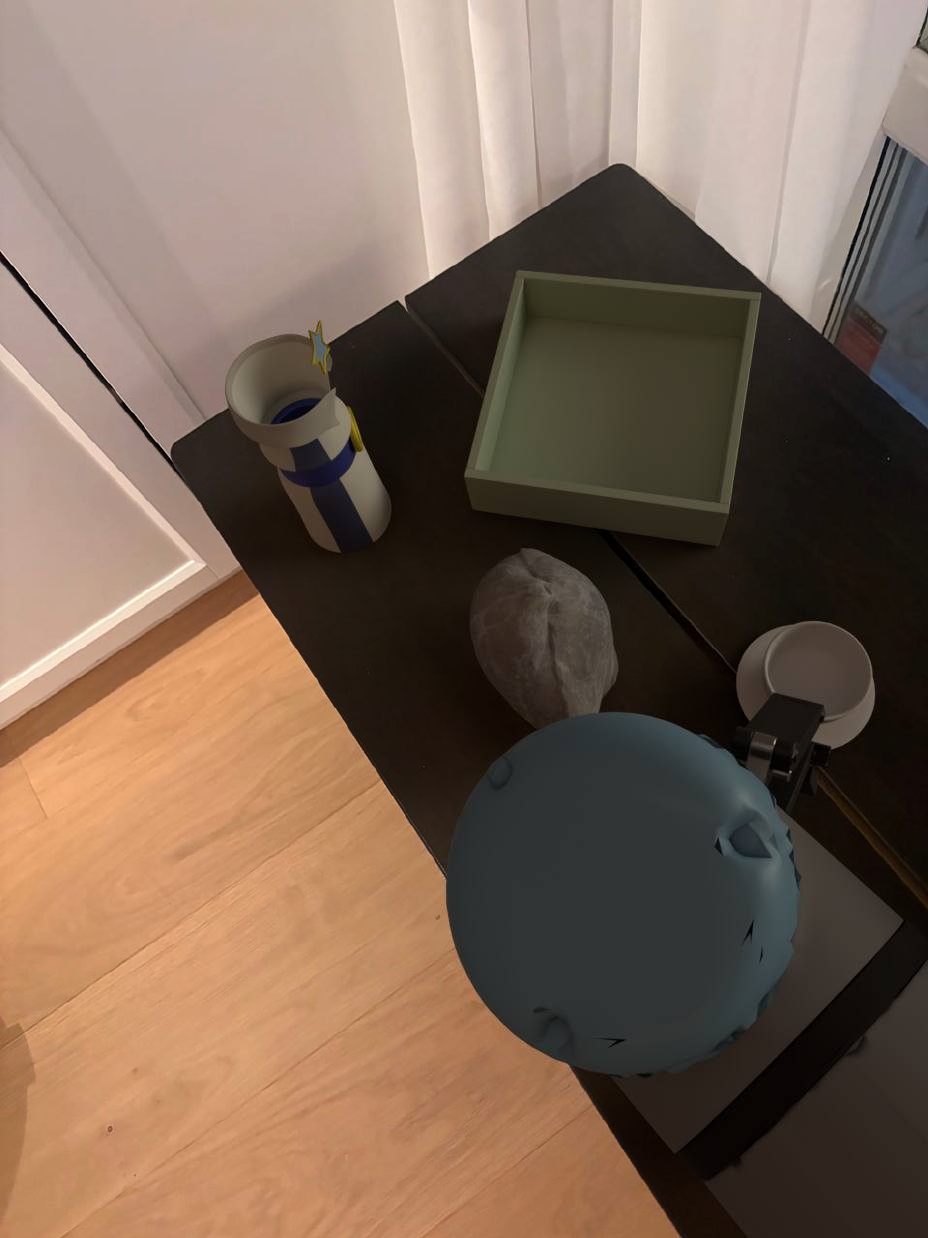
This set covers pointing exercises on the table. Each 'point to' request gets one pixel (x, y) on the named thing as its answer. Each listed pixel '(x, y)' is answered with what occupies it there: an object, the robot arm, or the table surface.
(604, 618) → the decorative stone
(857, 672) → the teacup
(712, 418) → the bin
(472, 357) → the table surface
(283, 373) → the white blue vase
